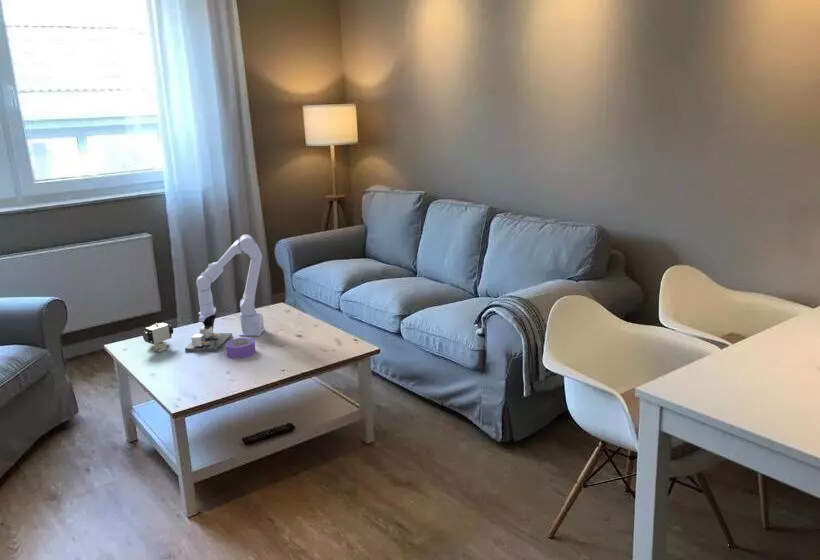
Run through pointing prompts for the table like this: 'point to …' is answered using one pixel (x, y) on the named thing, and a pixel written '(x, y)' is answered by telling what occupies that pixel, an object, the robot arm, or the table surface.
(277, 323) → the table surface
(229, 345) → the tape roll
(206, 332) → the sliding block
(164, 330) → the pneumatic valve
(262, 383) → the table surface
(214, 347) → the bolt plate
